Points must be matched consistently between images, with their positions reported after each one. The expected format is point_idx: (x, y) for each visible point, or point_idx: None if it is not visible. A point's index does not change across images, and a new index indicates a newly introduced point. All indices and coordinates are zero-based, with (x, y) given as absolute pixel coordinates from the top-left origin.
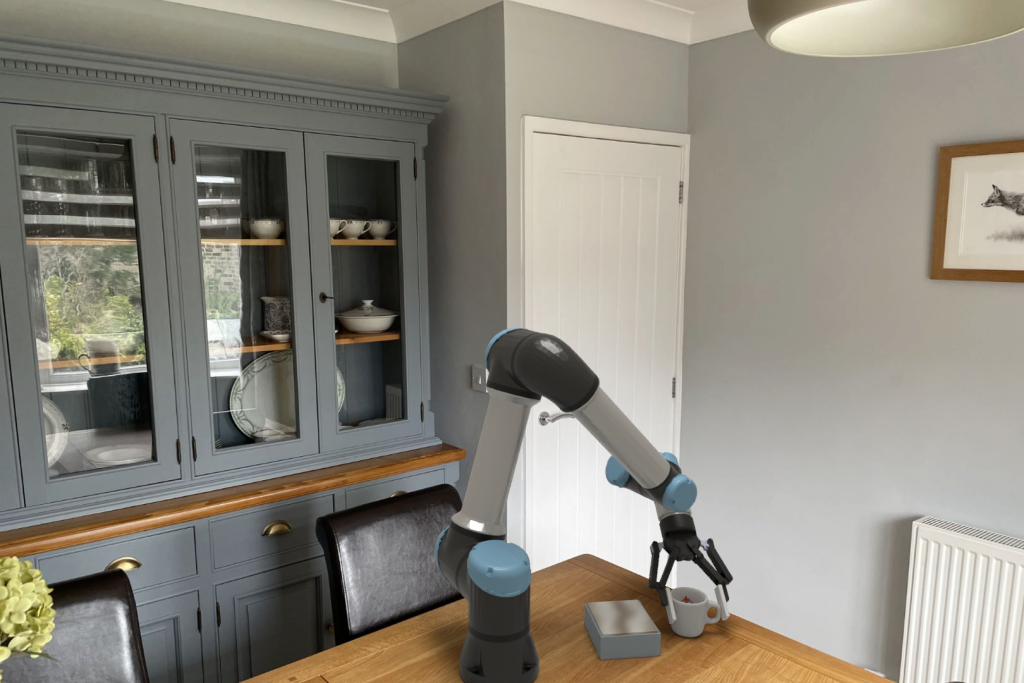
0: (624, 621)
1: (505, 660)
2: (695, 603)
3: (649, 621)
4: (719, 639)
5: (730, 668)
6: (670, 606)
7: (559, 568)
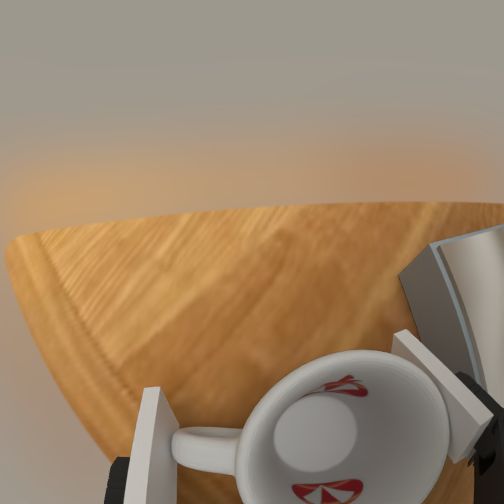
0: None
1: None
2: (330, 364)
3: (470, 303)
4: (206, 392)
5: (215, 233)
6: (436, 360)
7: None
